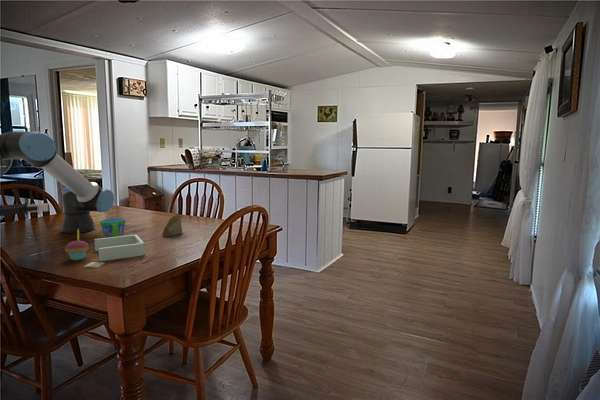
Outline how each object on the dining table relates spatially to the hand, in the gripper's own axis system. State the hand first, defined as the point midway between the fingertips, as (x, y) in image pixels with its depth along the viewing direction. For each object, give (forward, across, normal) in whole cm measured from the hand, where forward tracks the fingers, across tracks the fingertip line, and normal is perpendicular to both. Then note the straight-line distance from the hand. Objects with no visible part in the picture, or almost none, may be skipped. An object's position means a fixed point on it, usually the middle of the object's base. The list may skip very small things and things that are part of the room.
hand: (48, 207), depth 149 cm
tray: (+24, 0, -21) cm, 32 cm away
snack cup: (+24, -21, -22) cm, 39 cm away
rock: (+51, -21, -22) cm, 59 cm away
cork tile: (+13, +14, -22) cm, 29 cm away
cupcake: (+9, 0, -22) cm, 23 cm away
